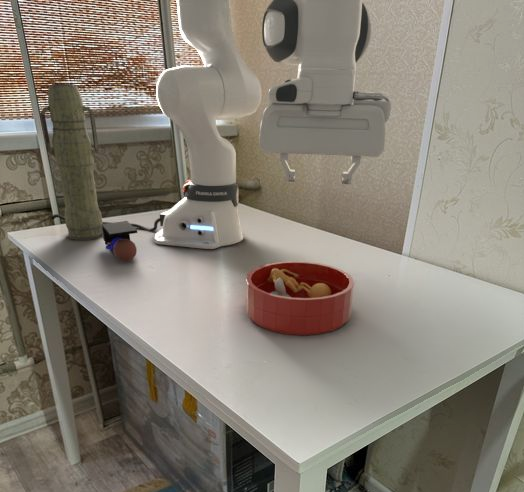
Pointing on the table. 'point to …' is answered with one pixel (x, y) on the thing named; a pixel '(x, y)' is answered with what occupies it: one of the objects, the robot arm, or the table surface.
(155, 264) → the table surface
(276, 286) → the pacifier
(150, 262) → the table surface
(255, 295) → the bowl
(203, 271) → the table surface
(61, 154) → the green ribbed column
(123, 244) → the figurine character
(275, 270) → the figurine
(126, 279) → the table surface
